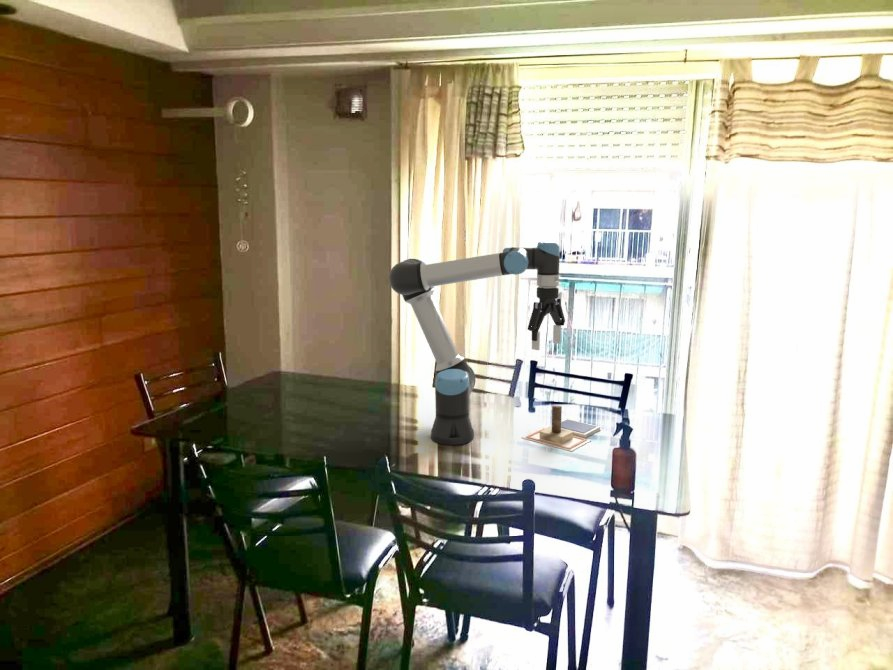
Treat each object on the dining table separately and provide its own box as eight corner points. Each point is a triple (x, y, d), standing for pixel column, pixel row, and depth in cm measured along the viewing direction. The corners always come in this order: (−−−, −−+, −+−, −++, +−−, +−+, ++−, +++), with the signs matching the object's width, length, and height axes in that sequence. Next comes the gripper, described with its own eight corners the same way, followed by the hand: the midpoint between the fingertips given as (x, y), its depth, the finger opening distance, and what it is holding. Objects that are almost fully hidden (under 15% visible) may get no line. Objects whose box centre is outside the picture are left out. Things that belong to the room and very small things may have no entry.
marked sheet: (521, 437, 231) (521, 436, 231) (542, 428, 241) (542, 426, 241) (571, 451, 218) (571, 450, 218) (591, 440, 228) (591, 439, 228)
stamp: (539, 438, 230) (540, 406, 228) (550, 433, 235) (551, 401, 233) (562, 444, 224) (563, 411, 222) (572, 438, 229) (573, 406, 227)
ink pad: (550, 429, 240) (550, 425, 239) (566, 421, 248) (566, 418, 248) (584, 438, 231) (585, 434, 230) (600, 429, 239) (600, 426, 239)
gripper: (536, 291, 218) (535, 354, 222) (575, 283, 236) (574, 342, 241) (518, 289, 223) (517, 350, 227) (557, 282, 241) (556, 339, 246)
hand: (546, 346), depth 234 cm, fingers open, 13 cm apart
